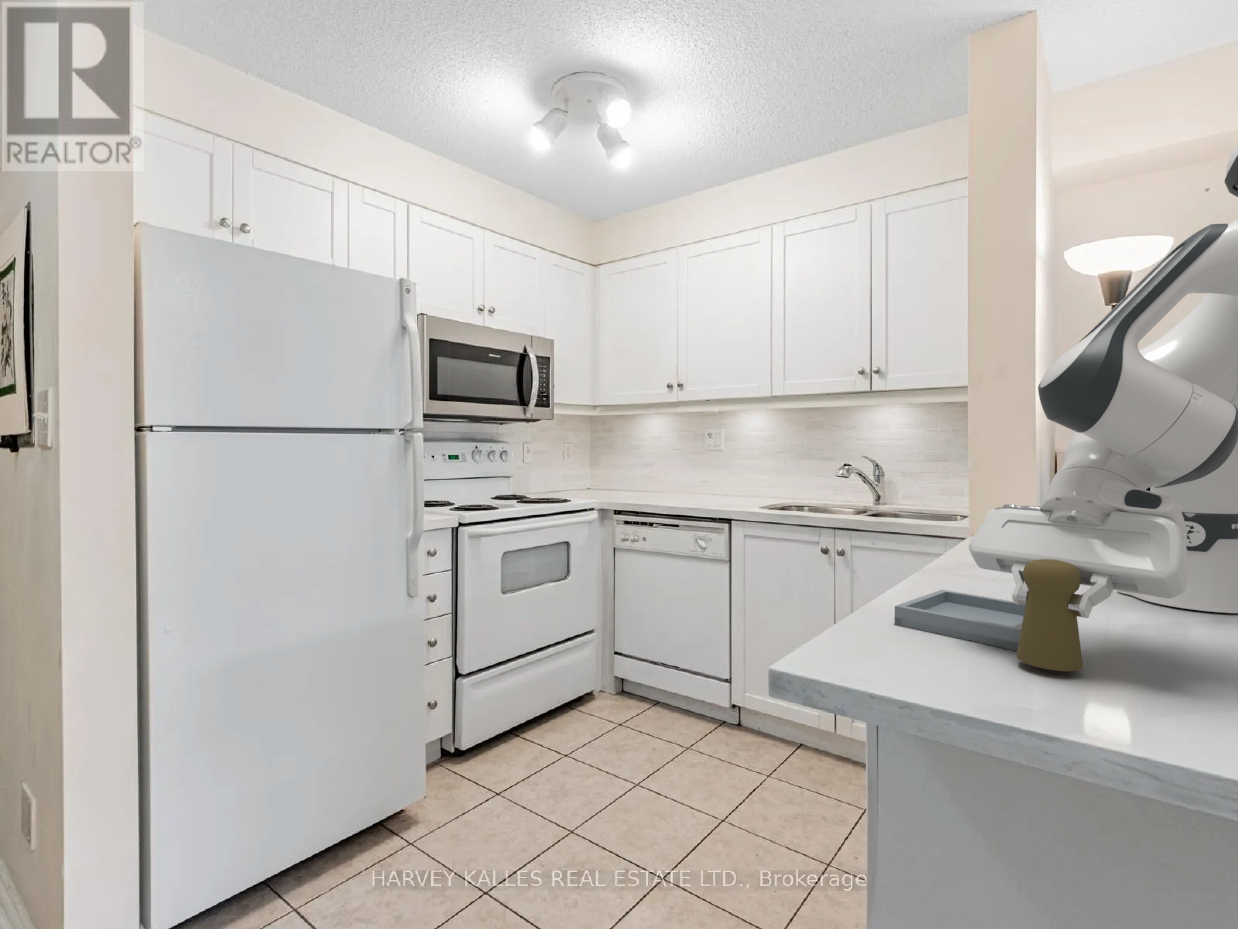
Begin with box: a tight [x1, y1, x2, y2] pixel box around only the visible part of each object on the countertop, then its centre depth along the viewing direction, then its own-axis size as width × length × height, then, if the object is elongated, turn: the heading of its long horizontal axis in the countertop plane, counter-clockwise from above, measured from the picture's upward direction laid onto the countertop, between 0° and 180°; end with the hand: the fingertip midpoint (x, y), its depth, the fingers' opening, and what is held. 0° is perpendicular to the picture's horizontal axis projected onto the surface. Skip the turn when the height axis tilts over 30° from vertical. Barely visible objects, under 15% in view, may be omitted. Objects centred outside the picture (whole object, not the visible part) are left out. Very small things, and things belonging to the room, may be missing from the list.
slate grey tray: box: [894, 589, 1026, 652], centre depth 87 cm, size 15×15×2 cm
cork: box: [1016, 559, 1084, 672], centre depth 70 cm, size 6×6×11 cm
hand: (1048, 608), depth 70 cm, fingers closed on cork, 4 cm apart
